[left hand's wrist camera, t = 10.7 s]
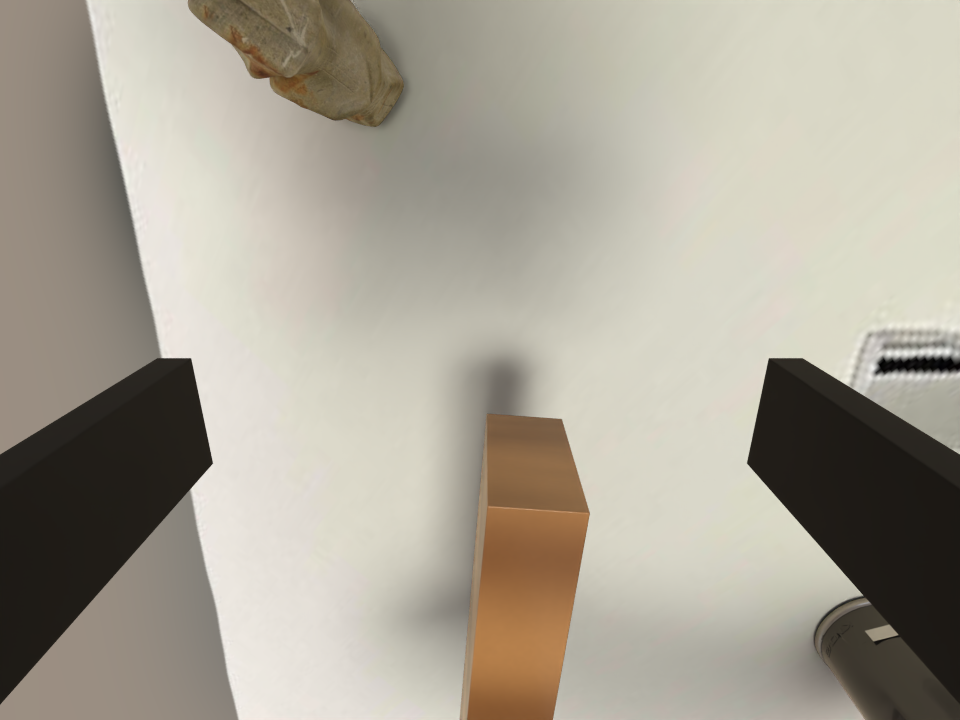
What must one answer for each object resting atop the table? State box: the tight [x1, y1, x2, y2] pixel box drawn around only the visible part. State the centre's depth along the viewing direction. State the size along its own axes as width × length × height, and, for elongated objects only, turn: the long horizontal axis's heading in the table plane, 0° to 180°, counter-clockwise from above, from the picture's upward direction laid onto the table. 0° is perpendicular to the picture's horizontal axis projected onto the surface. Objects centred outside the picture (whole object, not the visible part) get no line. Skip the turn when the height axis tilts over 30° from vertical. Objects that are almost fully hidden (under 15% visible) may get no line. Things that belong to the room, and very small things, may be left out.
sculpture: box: [188, 0, 404, 127], centre depth 28 cm, size 6×7×15 cm
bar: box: [460, 414, 590, 720], centre depth 32 cm, size 27×4×9 cm, turn 176°
